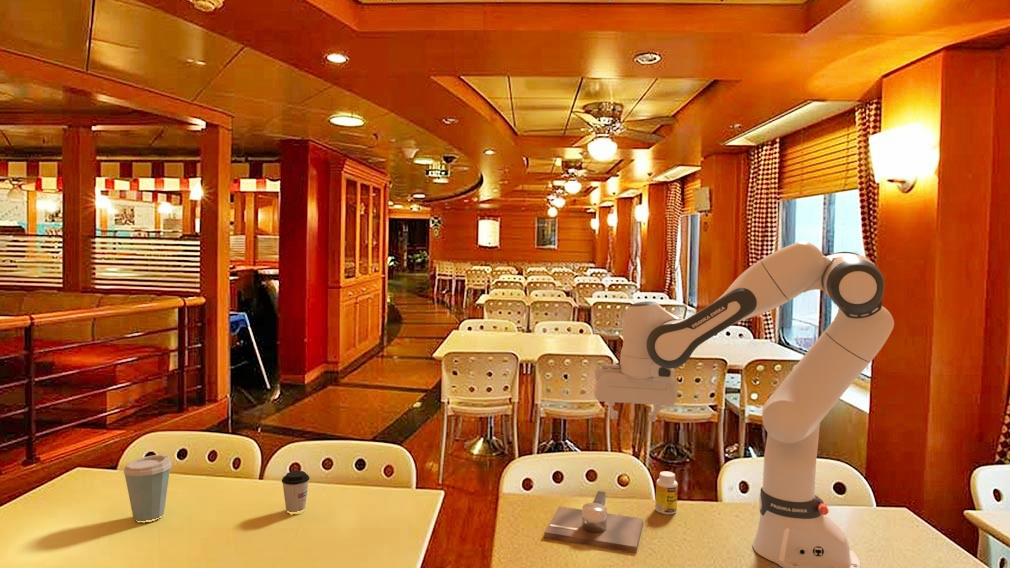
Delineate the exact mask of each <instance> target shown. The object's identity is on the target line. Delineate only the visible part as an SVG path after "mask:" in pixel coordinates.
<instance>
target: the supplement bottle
mask: <svg viewBox="0 0 1010 568" xmlns="http://www.w3.org/2000/svg"><path fill="white" fill-rule="evenodd" d="M655 484H656V486H655V510H656V511H657V512H658V513H659V514H663V515H673V514H676V512H677V509H678V508H677V506H678V505H677V504H678V489H679V487H678V485H679V483H678V482H677V480H676V474H675V473H674V472H671V471H660V472H659V478H658V479H657V480H656V483H655Z"/></svg>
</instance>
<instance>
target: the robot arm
mask: <svg viewBox="0 0 1010 568" xmlns="http://www.w3.org/2000/svg"><path fill="white" fill-rule="evenodd" d="M814 290H819V291H823V292H824V293H825V294H826V296H827V297H828V298H829V299H831V300H832V302H833V304H835V306H836V307H837V308H838V311H837V313H836V315H835V317H834V320H832V322H831V323H830V324H829V325H828V327H827V328H825V330H824V331H823V332H822V333H821V335H820V336H819V337H818V338H817V339H816V340H815V342H814V343H813V344H812V346H811V347H810V348H809V349H808V351H807V352H806V353H805V354H804V355H803V357H801V359H800V360H799V361H798V363H797V364H796V365H795V366H794V367H793V368H792V370H791V371H790V372H789V373H788V374H787V376H785V378H784V380H783V381H781V383H780V385H778V386H777V388H776V389H775V391H774V392H773V393H772V394H771V395H770V396H769V398H768V399H767V400H766V401H765V403H764V405H763V407H762V411H761V415H762V416H761V418H762V424H763V428H764V429H765V431H766V432H767V436H766V443H765V448H764V455H763V473H762V477H763V478H762V486H761V487H760V493H759V500H758V501H759V503H758V510H759V514H760V515H759V520H758V525H757V530H756V532H755V537H754V539H753V541H752V548H753V550H754V551H755V552H756V553H757V554H758V555H759V556H761V557H763V558H765V559H766V560H768V561H771V562H774V564H777V565H779V566H780V567H781V568H861V566H862V565H861V561H860V559H859V556H858V555H857V554H856V552H855V551H853V550H852V549H851V548H850V545H849V540H848V538H847V535H846V533H845V531H844V530H843V529H842V528H841V527H840V525H838V524H837V523H835V522H834V521H833V520H832V519H831V518H830V517H828V516H827V515H828V514H829V513H830V511H829V508H828V506H827V504H826V503H824V501H823V499H821V497H820V496H819V494H817V495H816V494H815V490H816V489H815V487H816V473H817V472H816V471H817V469H816V468H817V458H818V448H819V439H820V428H821V427H820V426H821V422H822V421H823V420H824V418H825V417H826V416H827V415H828V414H829V412H830V411H831V409H833V407H834V406H835V405H836V404H837V403H838V401H839V400H840V398H841V397H842V396H843V394H845V392H846V391H847V389H848V388H849V387H850V386H851V385H852V384H853V383H854V382H855V381H856V379H857V378H858V377H859V376H860V375H861V373H863V372H864V370H865V369H866V368H867V367H868V366H869V364H870V363H871V362H872V361H873V360H874V358H875V357H876V356H877V355H878V354H879V353H880V351H881V350H882V348H883V346H884V345H885V344H886V342H887V340H889V339H888V338H889V337H890V335H891V333H892V332H893V329H894V326H895V321H894V318H893V315H892V314H891V312H890V311H889V310H888V309H887V308H886V307H884V306H883V301H884V293H885V278H884V275H883V273H882V271H881V270H880V269H879V267H877V266H876V265H875V263H874V262H872V260H870V259H869V258H868V257H865V256H863V255H861V254H859V253H857V252H856V253H855V252H852V251H851V252H850V251H838V252H826V253H825V252H822V251H821V250H820V248H818V247H817V246H816V245H814V244H813V243H810V242H808V241H797V242H794V243H792V244H789V245H787V246H783V247H782V248H780V249H777V250H776V251H774V252H771V253H770V254H768V255H767V256H764V257H762V258H761V259H760V260H758V261H756V262H755V263H754V264H752V265H750V266H749V267H748V268H747V269H746V270H744V271H743V272H742V273H741V274H740V275H738V276H737V278H736V279H735V280H734V281H733V282H732V283H731V284H730V286H728V288H727V289H726V290H725V291H724V293H723V294H722V295H720V296H719V297H718V298H717V299H716V300H714V301H713V302H712V303H710V304H708V305H707V306H706V307H704V308H702V309H701V310H699V311H698V312H696V313H694V314H692V315H691V316H689V317H688V318H686V319H684V318H683V317H680V316H677V315H675V314H673V313H672V312H669V311H668V310H667V309H665V308H664V307H662V306H661V304H659V302H656V301H640V302H634V303H632V304H630V305H629V306H628V307H627V309H626V310H625V311H626V312H625V314H624V320H623V326H622V327H623V328H622V340H623V342H622V347H621V349H620V357H619V358H620V360H619V364H616V363H615V364H608V363H602V364H601V365H599V366H597V367H596V368H595V373H594V377H595V380H596V381H595V384H594V389H593V390H594V392H593V394H594V395H593V396H594V397H595V399H596V400H597V402H603V403H604V402H605V403H607V406H608V408H609V410H610V419H611V420H618V419H619V417H618V416H619V412H618V410H615V409H614V407H615V404H616V403H621V404H623V403H624V404H639V405H653V406H654V409H653V410H652V412H648V413H647V414H648V416H647V420H648V422H652V423H653V422H656V420H657V419H656V418H657V415H658V414H659V412H661V410H662V406H670V407H671V406H672V407H673V406H675V404H676V403H677V400H678V384H677V380H675V378H674V377H675V375H676V370H675V369H677V368H679V367H682V366H683V365H684V364H685V363H687V362H688V360H689V358H690V357H691V356H692V355H693V353H694V351H695V350H696V349H697V348H698V347H699V346H700V345H702V344H703V343H705V342H706V341H708V340H710V339H711V338H713V337H714V336H716V335H718V334H720V333H721V332H723V331H725V330H726V329H727V328H729V327H731V326H732V325H735V324H738V323H739V322H742V321H745V320H748V319H750V318H755V317H756V316H759V315H762V314H765V313H768V312H770V311H773V310H775V309H776V308H779V307H781V306H783V305H785V304H786V303H788V302H790V301H792V300H793V299H795V298H797V297H798V296H800V295H801V294H803V293H804V294H805V293H806V292H809V291H814Z"/></svg>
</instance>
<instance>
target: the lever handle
mask: <svg viewBox="0 0 1010 568" xmlns="http://www.w3.org/2000/svg"><path fill="white" fill-rule="evenodd" d="M606 494H607V492H606V491H602V490H598V491H597V492H596V494H595V497H594V498H593V501H592V502H589V503H588V502H587V503H585V504H583V505H582V508H581V510H582V527H583V528H584V529H585V530H587V531H591V532H602V531H604V530H606V528H607V513H608V507H607V506H606V497H607V496H606Z"/></svg>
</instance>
